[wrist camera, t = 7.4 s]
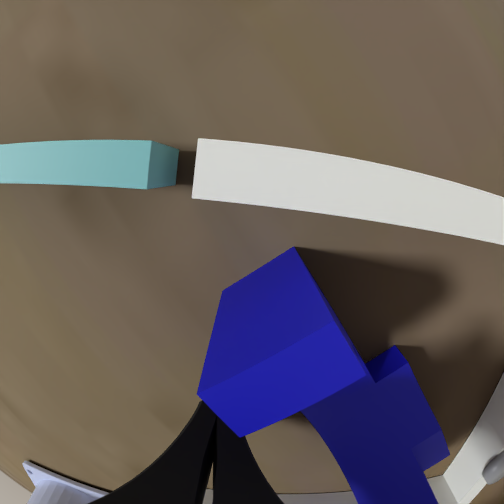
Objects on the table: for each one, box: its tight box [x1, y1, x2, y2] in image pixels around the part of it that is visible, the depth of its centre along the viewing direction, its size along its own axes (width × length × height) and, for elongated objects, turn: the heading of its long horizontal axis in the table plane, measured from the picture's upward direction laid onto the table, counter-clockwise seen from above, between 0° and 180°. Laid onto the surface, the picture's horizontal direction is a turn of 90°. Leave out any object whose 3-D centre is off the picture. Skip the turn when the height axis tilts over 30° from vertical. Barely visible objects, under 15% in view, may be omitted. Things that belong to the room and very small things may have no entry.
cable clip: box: [197, 247, 450, 504], centre depth 10 cm, size 12×4×6 cm, turn 33°
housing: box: [192, 138, 504, 504], centre depth 11 cm, size 19×18×4 cm
